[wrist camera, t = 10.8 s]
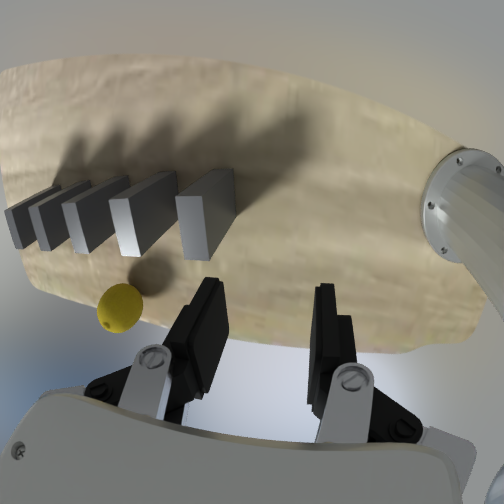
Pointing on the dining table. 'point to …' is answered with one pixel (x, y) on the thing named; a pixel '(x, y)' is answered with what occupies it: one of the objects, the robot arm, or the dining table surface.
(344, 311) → the dining table surface
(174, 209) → the domino
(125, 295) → the lemon
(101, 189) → the domino
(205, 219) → the domino
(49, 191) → the domino
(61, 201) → the domino
